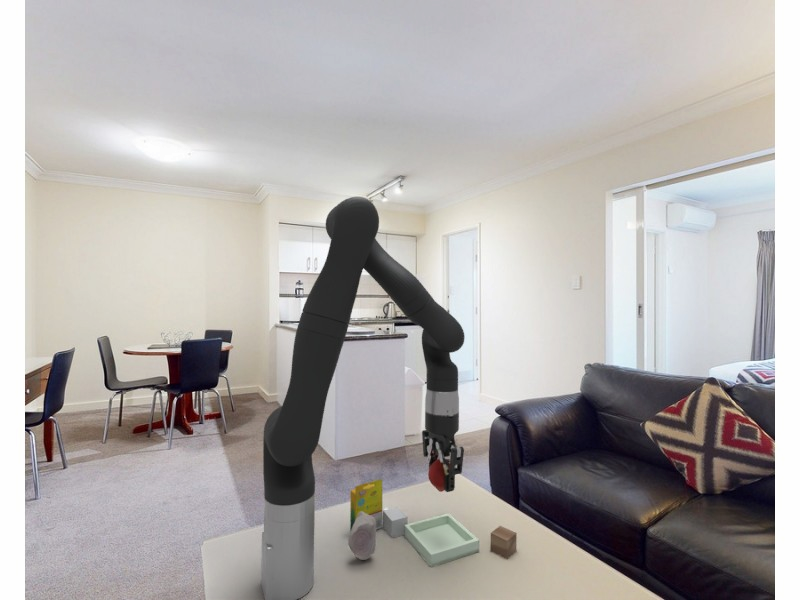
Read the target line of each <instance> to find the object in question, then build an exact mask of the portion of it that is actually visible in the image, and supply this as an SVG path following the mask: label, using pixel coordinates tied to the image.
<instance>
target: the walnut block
mask: <svg viewBox="0 0 800 600" xmlns="http://www.w3.org/2000/svg"><path fill="white" fill-rule="evenodd" d="M489 549H490V553H491V552H492V553H493V554H496V555H497V556H499V557H501V558H504V559H506V560H509V559H510V558H511V557H512V556H513V555H514V554H515V553H516V552H517V532H515V531H514V530H511V529H509V528H506V527H504V526H503V525H498V526H497V527H496V528H495V529H494V530H492V531H491V532H490V548H489Z"/></svg>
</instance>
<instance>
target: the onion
mask: <svg viewBox="0 0 800 600" xmlns="http://www.w3.org/2000/svg"><path fill="white" fill-rule="evenodd" d="M449 467H450V462H448V469H449ZM444 474H445V472H444V467H443V464H441V462H440V458H438V459H437V460H436V461H434V462H433V463H432V465H431V466H430V468H429V467H428V479H429V482H430V483H431V484H432V486H433V487H434V488H435V489H436V490H437V491H438V492H440V493H441V492H445V490H444Z"/></svg>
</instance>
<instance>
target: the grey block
mask: <svg viewBox="0 0 800 600" xmlns="http://www.w3.org/2000/svg"><path fill="white" fill-rule="evenodd" d="M382 516H383V517H382V518H383V519H382V520H383V521H382V522H383V523H382V524H383V527H382V529H384V530H385V532H386V533H387V534H388V535H389V537H390V538H391V539H393V538H397V537H400V536H404V532H405V525H406V524H408V515H406V513H404V512H403V511H402V510H401V508H400V507H399V506H396V507H392V508H388V509H387V508H386V509H382Z"/></svg>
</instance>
